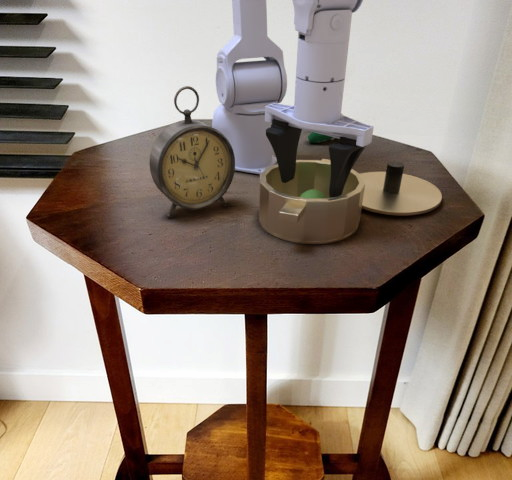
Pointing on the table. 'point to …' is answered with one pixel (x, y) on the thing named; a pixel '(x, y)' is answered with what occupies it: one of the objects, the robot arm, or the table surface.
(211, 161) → the alarm clock
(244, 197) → the table surface
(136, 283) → the table surface
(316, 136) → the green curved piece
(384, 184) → the lid
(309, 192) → the ball
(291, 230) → the pot
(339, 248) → the table surface
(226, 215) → the table surface
